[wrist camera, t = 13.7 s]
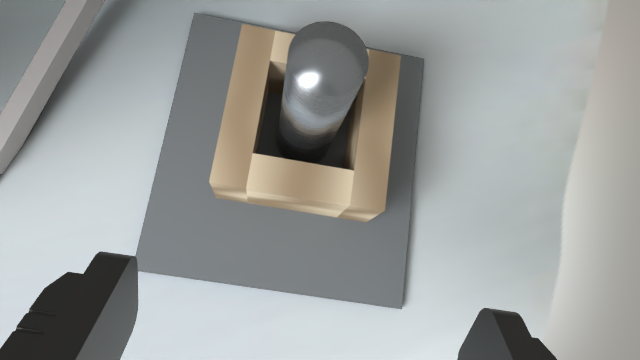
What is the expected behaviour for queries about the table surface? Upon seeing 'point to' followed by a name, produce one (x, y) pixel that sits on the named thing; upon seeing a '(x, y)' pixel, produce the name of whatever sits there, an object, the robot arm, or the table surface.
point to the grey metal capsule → (319, 88)
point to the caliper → (43, 75)
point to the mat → (263, 221)
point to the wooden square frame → (295, 176)
